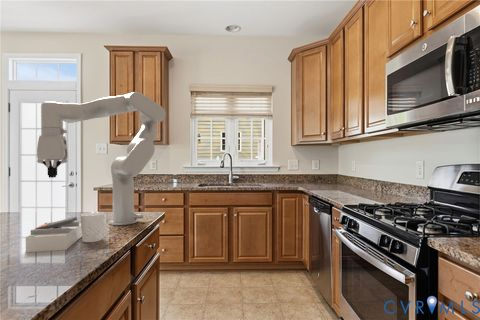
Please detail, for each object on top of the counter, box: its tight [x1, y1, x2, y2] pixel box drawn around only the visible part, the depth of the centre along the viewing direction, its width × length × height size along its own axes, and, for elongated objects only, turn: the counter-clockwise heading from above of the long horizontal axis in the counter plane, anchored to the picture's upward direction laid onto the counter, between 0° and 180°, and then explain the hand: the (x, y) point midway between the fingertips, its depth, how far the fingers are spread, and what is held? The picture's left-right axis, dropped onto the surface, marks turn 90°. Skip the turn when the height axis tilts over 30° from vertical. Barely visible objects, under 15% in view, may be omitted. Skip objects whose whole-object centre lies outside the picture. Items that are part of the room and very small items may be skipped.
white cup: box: [80, 211, 105, 243], centre depth 112 cm, size 8×8×10 cm
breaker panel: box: [25, 220, 82, 253], centre depth 107 cm, size 12×18×6 cm, turn 13°
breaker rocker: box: [33, 216, 78, 230], centre depth 107 cm, size 12×6×1 cm, turn 102°
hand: (52, 177), depth 121 cm, fingers closed
